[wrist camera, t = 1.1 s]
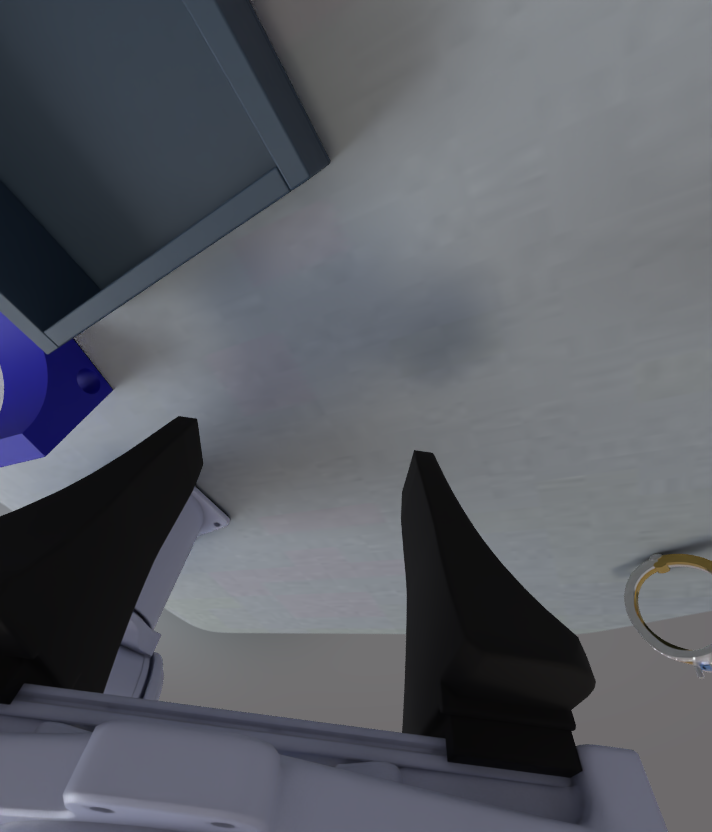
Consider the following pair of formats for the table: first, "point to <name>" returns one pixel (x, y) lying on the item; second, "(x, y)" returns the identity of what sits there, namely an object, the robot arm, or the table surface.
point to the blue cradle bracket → (42, 394)
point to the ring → (702, 659)
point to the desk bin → (133, 148)
